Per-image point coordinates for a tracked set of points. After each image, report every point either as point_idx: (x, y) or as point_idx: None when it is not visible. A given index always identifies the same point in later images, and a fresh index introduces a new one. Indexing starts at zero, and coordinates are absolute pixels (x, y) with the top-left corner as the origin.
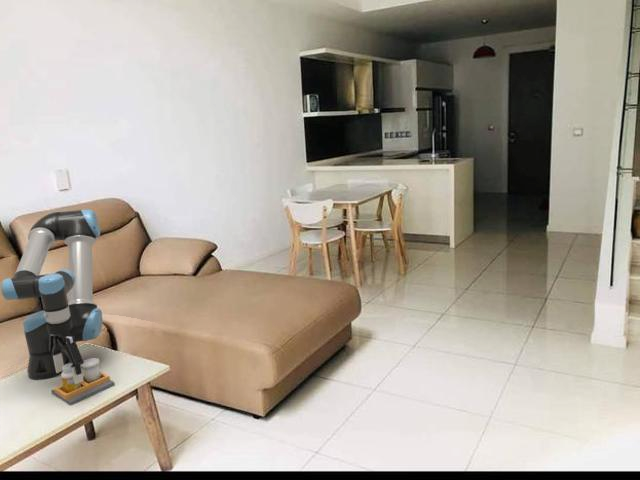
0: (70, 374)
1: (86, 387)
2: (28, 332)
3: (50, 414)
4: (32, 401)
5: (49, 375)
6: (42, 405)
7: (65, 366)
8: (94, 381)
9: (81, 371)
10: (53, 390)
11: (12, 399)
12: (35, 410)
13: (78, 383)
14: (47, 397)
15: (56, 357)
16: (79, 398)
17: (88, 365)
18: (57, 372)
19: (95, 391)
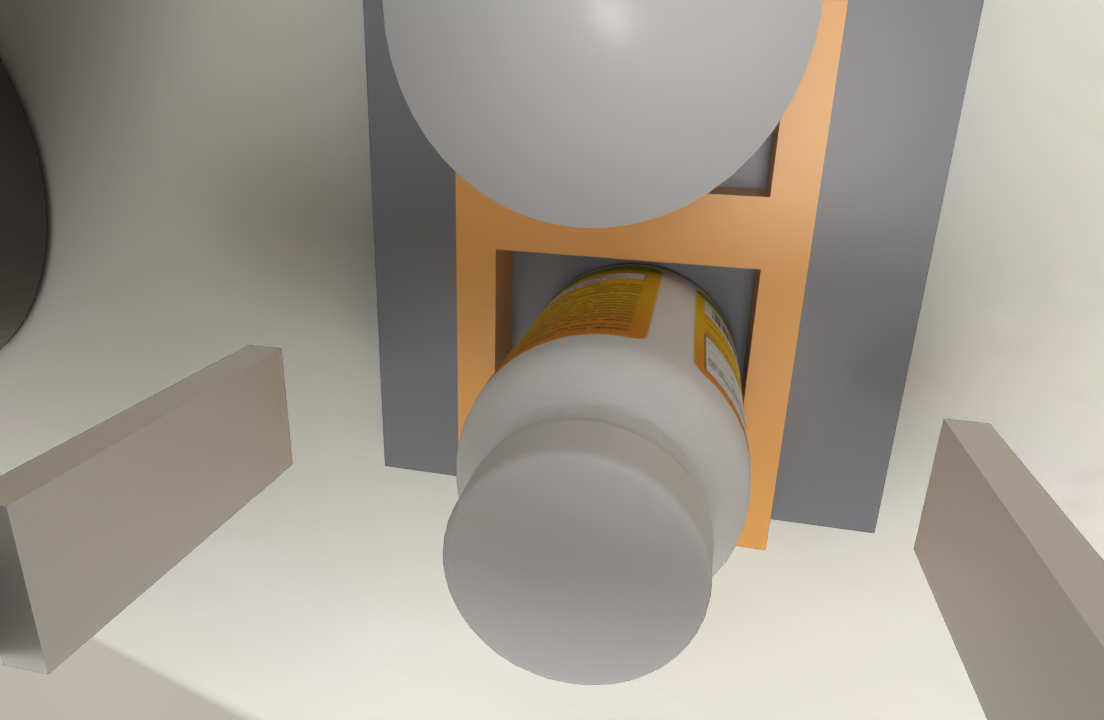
0: (719, 550)
1: (807, 263)
2: None
3: (812, 689)
4: (394, 611)
5: (14, 277)
6: None
7: (540, 614)
8: (796, 103)
9: (1077, 541)
10: (407, 456)
11: (211, 654)
12: (590, 694)
13: (729, 355)
14: (442, 512)
15: (78, 593)
16: (896, 423)
17: (752, 148)
18: (285, 461)
19: (940, 194)
